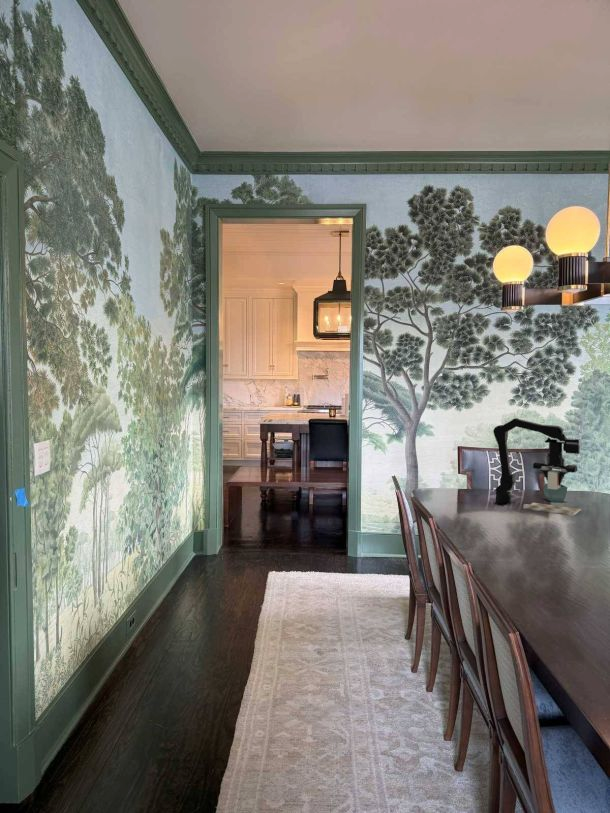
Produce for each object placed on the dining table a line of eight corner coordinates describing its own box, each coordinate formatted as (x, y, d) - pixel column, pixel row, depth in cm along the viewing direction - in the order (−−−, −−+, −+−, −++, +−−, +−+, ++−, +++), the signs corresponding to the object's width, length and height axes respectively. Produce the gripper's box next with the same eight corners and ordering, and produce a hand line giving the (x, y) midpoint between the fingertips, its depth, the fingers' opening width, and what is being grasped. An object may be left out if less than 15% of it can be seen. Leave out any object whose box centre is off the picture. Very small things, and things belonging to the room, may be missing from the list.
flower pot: (567, 504, 273) (568, 486, 273) (549, 504, 274) (550, 486, 273) (559, 500, 282) (560, 483, 282) (542, 500, 282) (542, 483, 282)
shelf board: (523, 510, 261) (523, 504, 260) (533, 504, 273) (533, 498, 273) (573, 518, 247) (573, 511, 247) (581, 511, 259) (581, 505, 259)
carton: (547, 488, 259) (547, 471, 259) (551, 486, 265) (552, 469, 264) (557, 489, 257) (557, 472, 256) (560, 487, 262) (561, 470, 262)
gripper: (580, 452, 260) (579, 484, 261) (539, 449, 272) (538, 480, 273) (575, 454, 252) (574, 488, 252) (533, 451, 263) (532, 483, 264)
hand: (554, 484), depth 261 cm, fingers closed on carton, 4 cm apart
